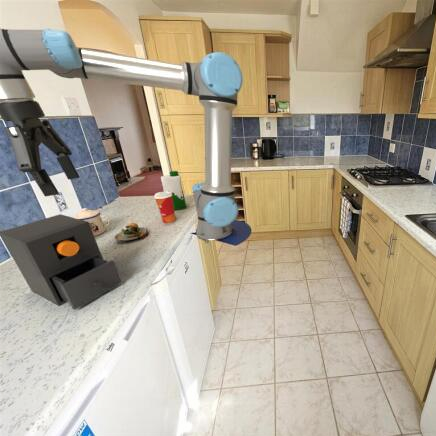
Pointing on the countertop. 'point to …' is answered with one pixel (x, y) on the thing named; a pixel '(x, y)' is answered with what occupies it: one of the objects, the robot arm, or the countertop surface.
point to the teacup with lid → (93, 220)
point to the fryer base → (48, 281)
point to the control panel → (49, 243)
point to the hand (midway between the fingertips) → (64, 186)
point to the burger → (131, 232)
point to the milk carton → (174, 189)
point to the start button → (67, 248)
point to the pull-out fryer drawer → (86, 281)
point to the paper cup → (165, 206)
